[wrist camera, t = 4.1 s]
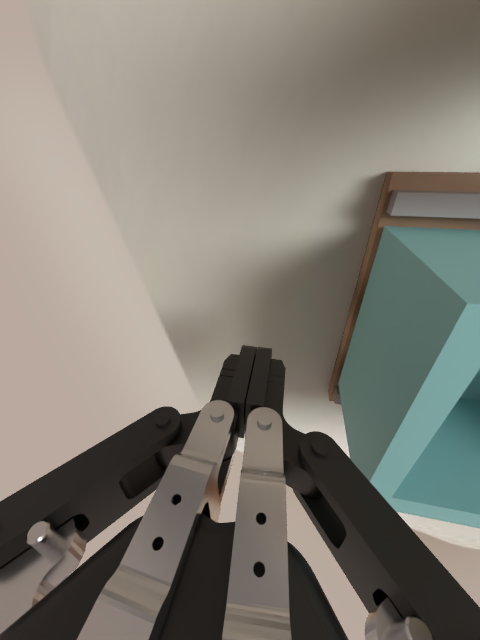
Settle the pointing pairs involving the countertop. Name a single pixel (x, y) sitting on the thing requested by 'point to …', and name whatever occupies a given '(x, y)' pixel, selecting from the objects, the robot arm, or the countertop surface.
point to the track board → (412, 211)
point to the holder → (419, 374)
